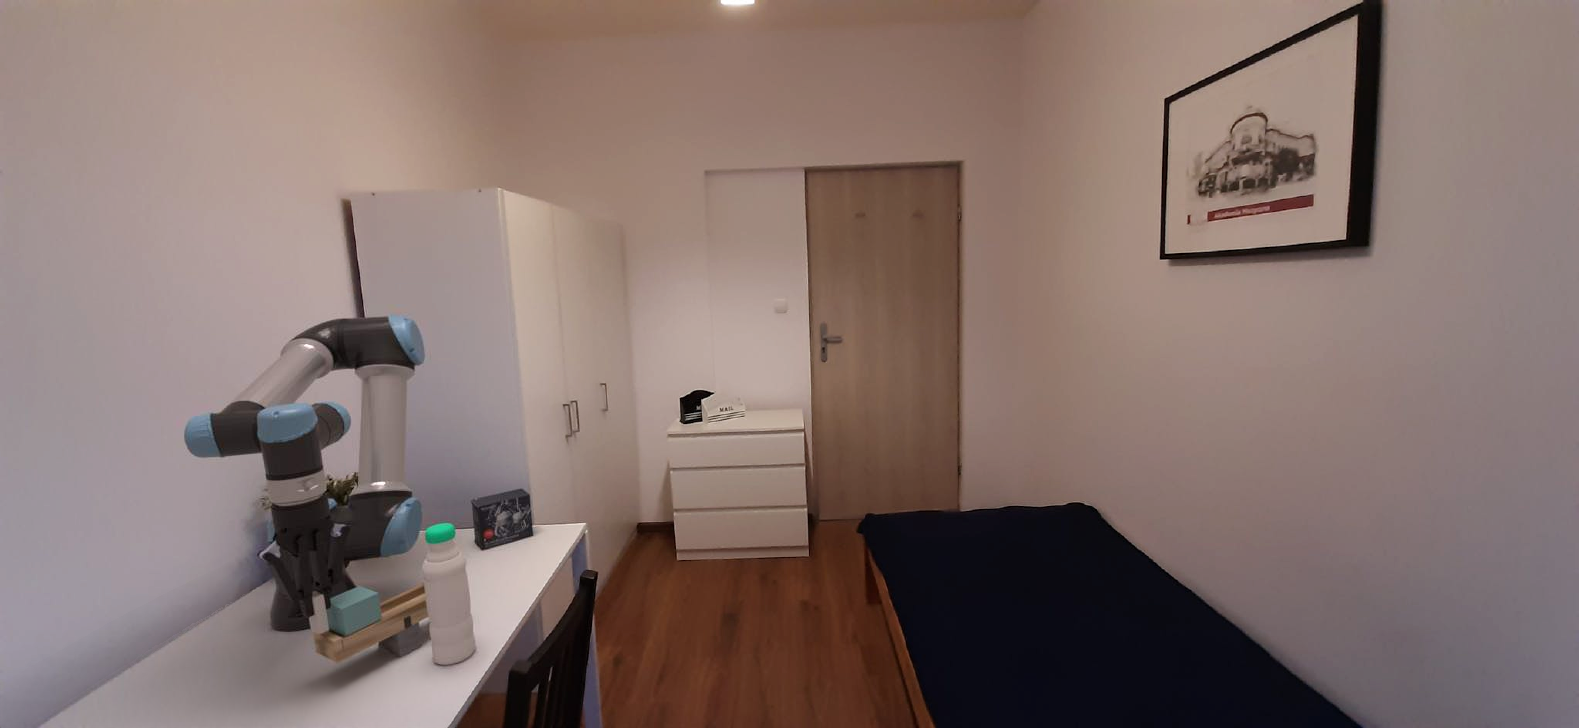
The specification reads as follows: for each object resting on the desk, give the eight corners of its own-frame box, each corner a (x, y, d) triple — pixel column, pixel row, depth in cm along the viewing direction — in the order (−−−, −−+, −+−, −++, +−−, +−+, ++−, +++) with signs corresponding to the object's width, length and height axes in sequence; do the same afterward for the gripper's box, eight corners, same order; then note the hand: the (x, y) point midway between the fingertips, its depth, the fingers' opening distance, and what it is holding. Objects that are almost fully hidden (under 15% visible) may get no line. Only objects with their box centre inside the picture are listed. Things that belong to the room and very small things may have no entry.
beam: (319, 678, 112) (310, 617, 110) (448, 612, 132) (441, 560, 131) (342, 690, 108) (332, 627, 106) (470, 620, 129) (463, 567, 127)
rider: (328, 635, 112) (323, 601, 111) (364, 618, 117) (359, 586, 116) (347, 644, 109) (341, 609, 108) (383, 626, 114) (378, 592, 113)
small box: (481, 551, 161) (476, 506, 160) (474, 543, 167) (469, 499, 165) (534, 536, 170) (530, 493, 168) (525, 528, 175) (521, 487, 173)
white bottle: (465, 639, 122) (451, 516, 118) (483, 652, 118) (468, 524, 114) (426, 657, 117) (410, 528, 113) (443, 671, 112) (426, 538, 109)
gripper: (262, 515, 97) (286, 657, 101) (354, 488, 108) (372, 616, 112) (240, 508, 101) (263, 644, 104) (330, 482, 112) (349, 606, 115)
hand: (320, 630), depth 108 cm, fingers closed
